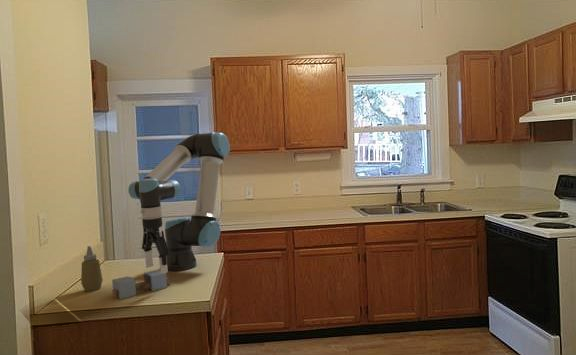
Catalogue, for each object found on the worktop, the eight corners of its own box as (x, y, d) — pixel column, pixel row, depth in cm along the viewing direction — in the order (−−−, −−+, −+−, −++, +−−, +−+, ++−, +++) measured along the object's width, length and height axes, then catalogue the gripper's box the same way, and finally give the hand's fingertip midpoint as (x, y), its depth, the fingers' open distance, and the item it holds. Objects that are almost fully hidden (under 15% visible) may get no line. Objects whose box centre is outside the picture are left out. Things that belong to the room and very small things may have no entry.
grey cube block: (159, 284, 188) (158, 269, 188) (167, 287, 182) (166, 272, 182) (143, 287, 184) (142, 273, 183) (150, 291, 178) (149, 276, 178)
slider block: (120, 299, 171) (119, 283, 170) (113, 295, 176) (112, 279, 176) (137, 294, 175) (136, 279, 175) (130, 290, 181) (129, 275, 180)
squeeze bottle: (80, 294, 181) (76, 249, 180) (83, 288, 189) (80, 245, 188) (102, 291, 183) (98, 247, 182) (104, 286, 191) (101, 243, 190)
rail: (167, 284, 188) (166, 276, 188) (170, 286, 186) (169, 277, 186) (112, 298, 174) (112, 289, 174) (115, 299, 172) (114, 290, 171)
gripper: (130, 216, 189) (135, 266, 191) (156, 222, 170) (161, 278, 172) (148, 213, 194) (152, 262, 196) (174, 218, 175) (179, 273, 177)
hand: (156, 269), depth 184 cm, fingers open, 13 cm apart
